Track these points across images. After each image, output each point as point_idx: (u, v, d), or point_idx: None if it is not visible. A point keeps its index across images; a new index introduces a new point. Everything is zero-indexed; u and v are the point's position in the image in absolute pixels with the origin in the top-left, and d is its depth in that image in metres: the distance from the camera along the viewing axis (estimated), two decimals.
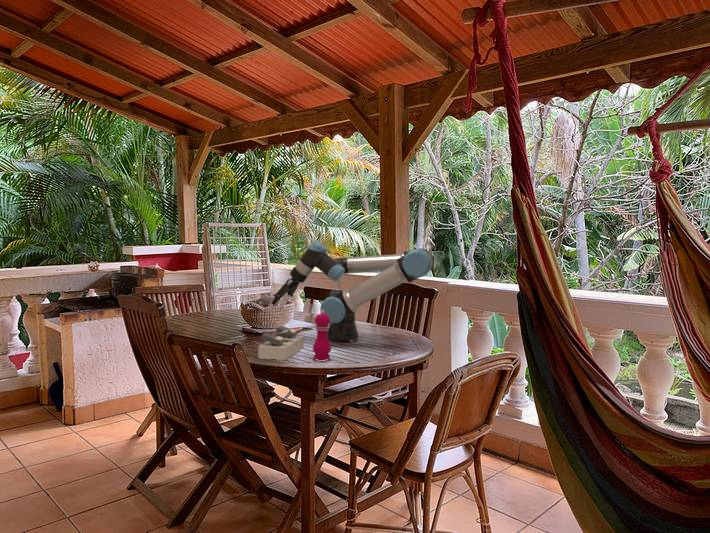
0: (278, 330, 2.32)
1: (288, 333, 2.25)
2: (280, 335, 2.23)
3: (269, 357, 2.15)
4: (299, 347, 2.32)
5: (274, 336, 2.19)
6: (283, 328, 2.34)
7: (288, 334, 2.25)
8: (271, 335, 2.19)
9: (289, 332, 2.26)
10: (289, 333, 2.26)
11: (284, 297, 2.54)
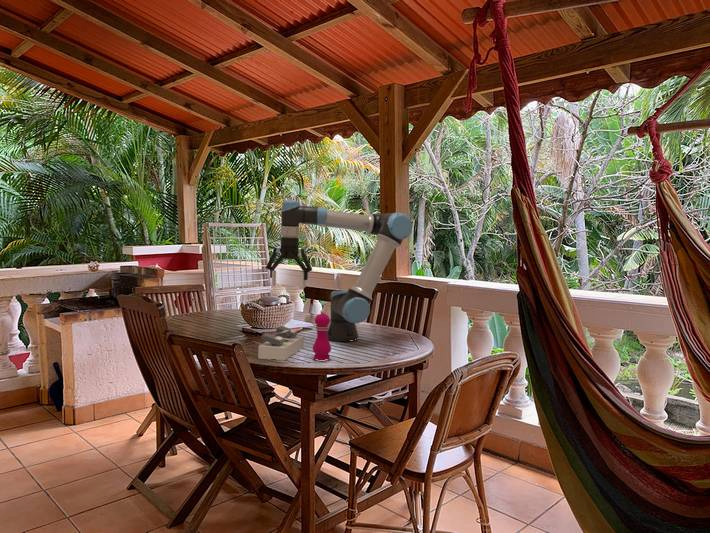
0: (278, 330, 2.32)
1: (288, 333, 2.25)
2: (280, 335, 2.23)
3: (269, 357, 2.15)
4: (299, 347, 2.32)
5: (274, 336, 2.19)
6: (283, 328, 2.34)
7: (288, 334, 2.25)
8: (271, 335, 2.19)
9: (289, 332, 2.26)
10: (289, 333, 2.26)
11: (274, 275, 2.33)
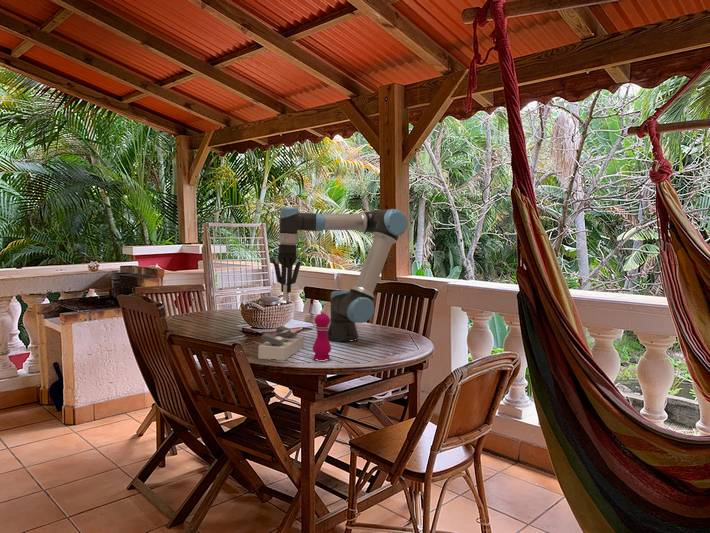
0: (278, 330, 2.32)
1: (288, 333, 2.25)
2: (280, 335, 2.23)
3: (269, 357, 2.15)
4: (299, 347, 2.32)
5: (274, 336, 2.19)
6: (283, 328, 2.34)
7: (288, 334, 2.25)
8: (271, 335, 2.19)
9: (289, 332, 2.26)
10: (289, 333, 2.26)
11: None
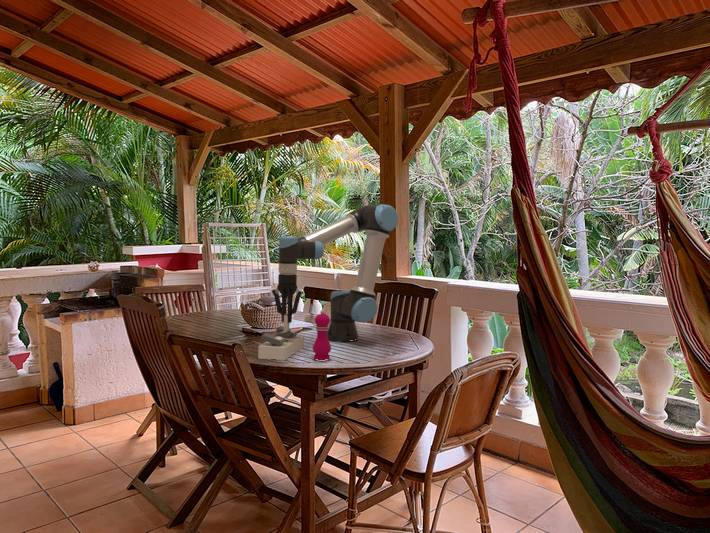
0: (278, 330, 2.32)
1: (288, 333, 2.25)
2: (280, 335, 2.23)
3: (269, 357, 2.15)
4: (299, 347, 2.32)
5: (274, 336, 2.19)
6: (283, 328, 2.34)
7: (288, 334, 2.25)
8: (271, 335, 2.19)
9: (289, 332, 2.26)
10: (289, 333, 2.26)
11: None
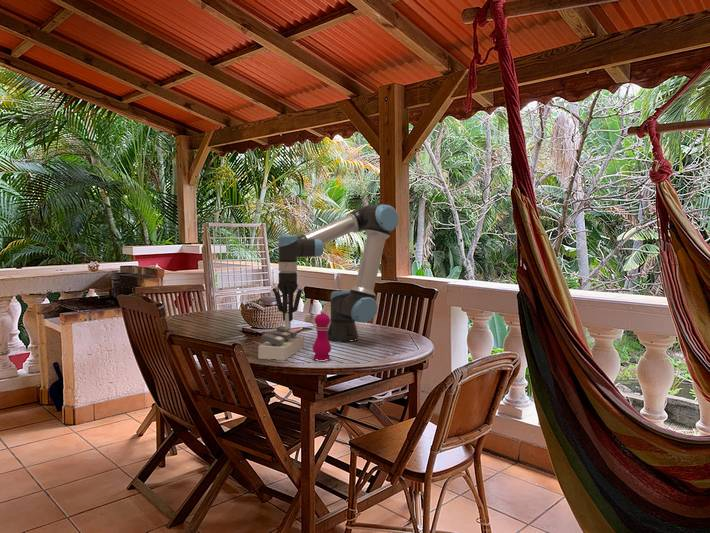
0: (278, 330, 2.32)
1: (288, 337, 2.25)
2: (280, 336, 2.23)
3: (269, 357, 2.15)
4: (299, 347, 2.32)
5: (274, 336, 2.19)
6: (283, 328, 2.34)
7: (288, 338, 2.25)
8: (271, 335, 2.19)
9: (289, 336, 2.26)
10: (289, 337, 2.26)
11: None
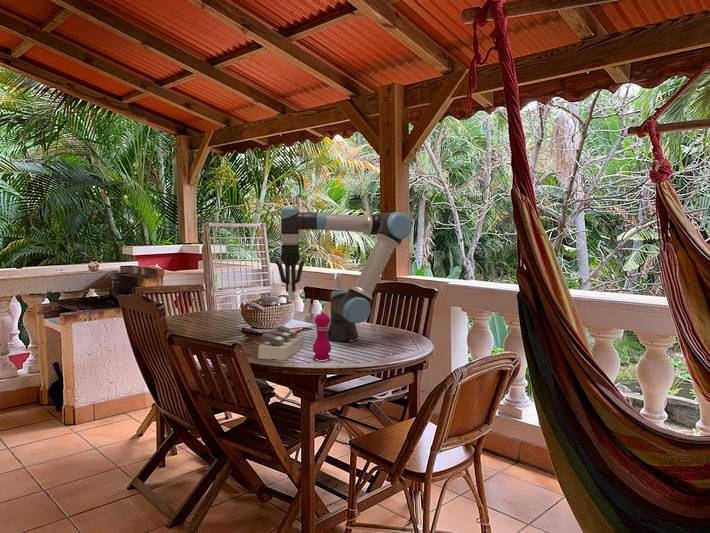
0: (278, 330, 2.32)
1: (288, 337, 2.25)
2: (280, 336, 2.23)
3: (269, 357, 2.15)
4: (299, 347, 2.32)
5: (274, 336, 2.19)
6: (283, 328, 2.34)
7: (288, 338, 2.25)
8: (271, 335, 2.19)
9: (289, 336, 2.26)
10: (289, 337, 2.26)
11: None
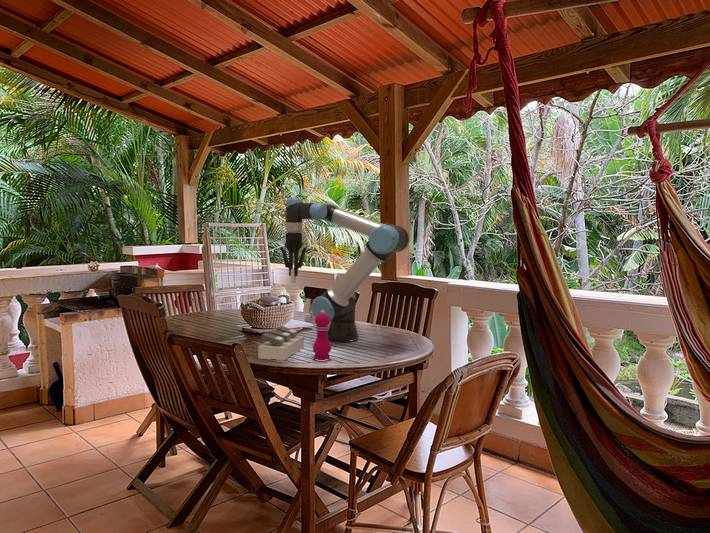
0: (278, 330, 2.32)
1: (288, 337, 2.25)
2: (280, 336, 2.23)
3: (269, 357, 2.15)
4: (299, 347, 2.32)
5: (274, 336, 2.19)
6: (283, 328, 2.34)
7: (288, 338, 2.25)
8: (271, 335, 2.19)
9: (289, 336, 2.26)
10: (289, 337, 2.26)
11: None
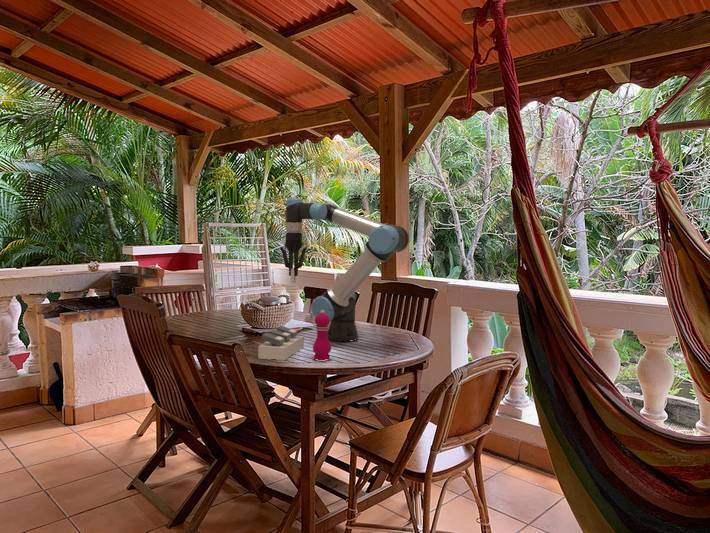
0: (278, 330, 2.32)
1: (288, 337, 2.25)
2: (280, 336, 2.23)
3: (269, 357, 2.15)
4: (299, 347, 2.32)
5: (274, 336, 2.19)
6: (283, 328, 2.34)
7: (288, 338, 2.25)
8: (271, 335, 2.19)
9: (289, 336, 2.26)
10: (289, 337, 2.26)
11: None
